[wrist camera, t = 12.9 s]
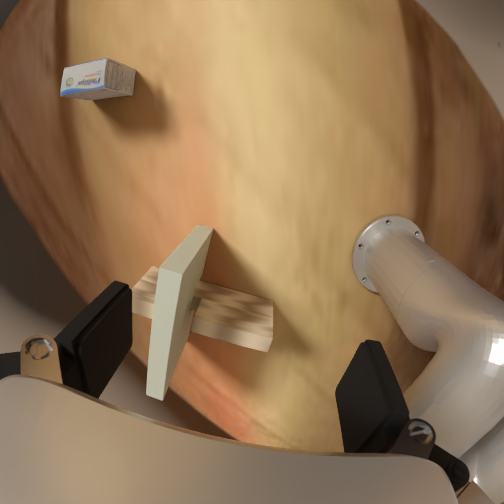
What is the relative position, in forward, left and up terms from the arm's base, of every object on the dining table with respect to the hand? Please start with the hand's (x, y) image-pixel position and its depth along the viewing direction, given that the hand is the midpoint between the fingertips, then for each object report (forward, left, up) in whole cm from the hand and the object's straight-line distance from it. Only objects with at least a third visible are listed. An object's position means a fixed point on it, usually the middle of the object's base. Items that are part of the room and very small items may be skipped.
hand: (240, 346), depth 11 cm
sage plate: (+7, +16, -32) cm, 36 cm away
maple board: (+4, +16, -32) cm, 36 cm away
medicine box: (+27, -12, -32) cm, 43 cm away
